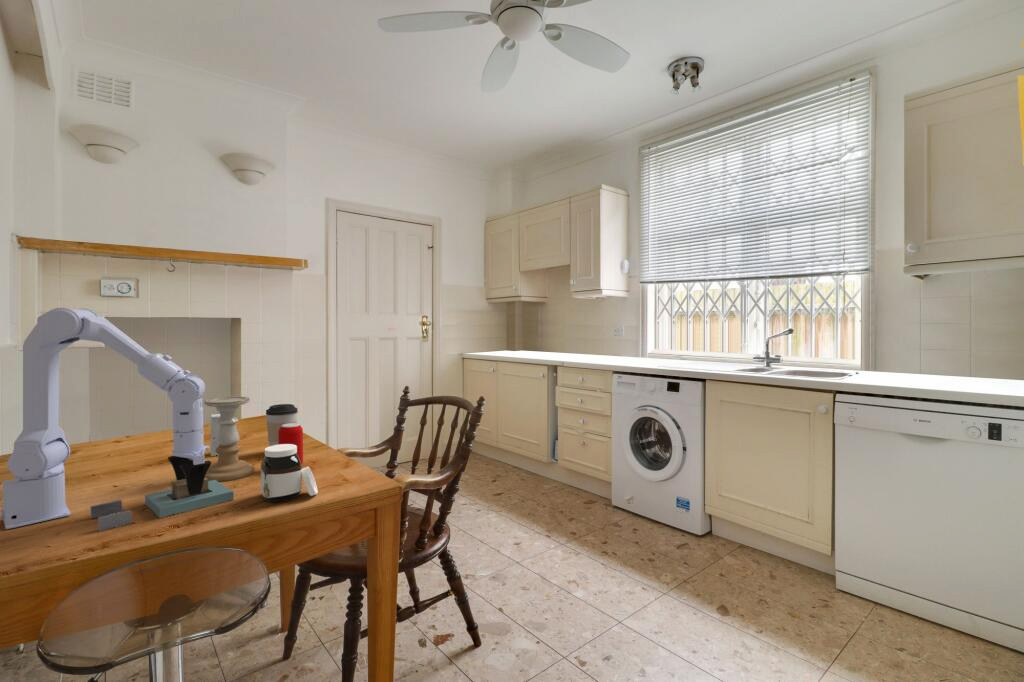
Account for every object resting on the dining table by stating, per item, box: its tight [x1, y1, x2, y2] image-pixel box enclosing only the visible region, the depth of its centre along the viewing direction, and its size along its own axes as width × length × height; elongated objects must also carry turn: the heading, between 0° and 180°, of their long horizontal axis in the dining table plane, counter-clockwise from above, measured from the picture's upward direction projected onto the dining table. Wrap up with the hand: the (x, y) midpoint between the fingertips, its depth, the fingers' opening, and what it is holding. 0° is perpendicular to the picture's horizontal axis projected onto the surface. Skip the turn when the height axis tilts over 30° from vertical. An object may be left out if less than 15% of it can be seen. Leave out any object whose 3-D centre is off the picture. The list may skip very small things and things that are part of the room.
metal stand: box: [89, 499, 132, 532], centre depth 99 cm, size 5×10×2 cm, turn 49°
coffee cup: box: [265, 403, 299, 447], centre depth 151 cm, size 9×9×15 cm
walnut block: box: [171, 477, 208, 501], centre depth 110 cm, size 4×6×5 cm, turn 139°
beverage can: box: [278, 422, 304, 466], centre depth 136 cm, size 6×6×12 cm
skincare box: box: [210, 413, 220, 457], centre depth 149 cm, size 6×4×12 cm
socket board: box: [144, 480, 234, 519], centre depth 110 cm, size 14×12×2 cm
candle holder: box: [203, 395, 255, 482], centre depth 129 cm, size 12×12×20 cm
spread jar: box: [260, 444, 319, 503], centre depth 114 cm, size 12×11×12 cm
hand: (189, 489), depth 110 cm, fingers open, 7 cm apart
